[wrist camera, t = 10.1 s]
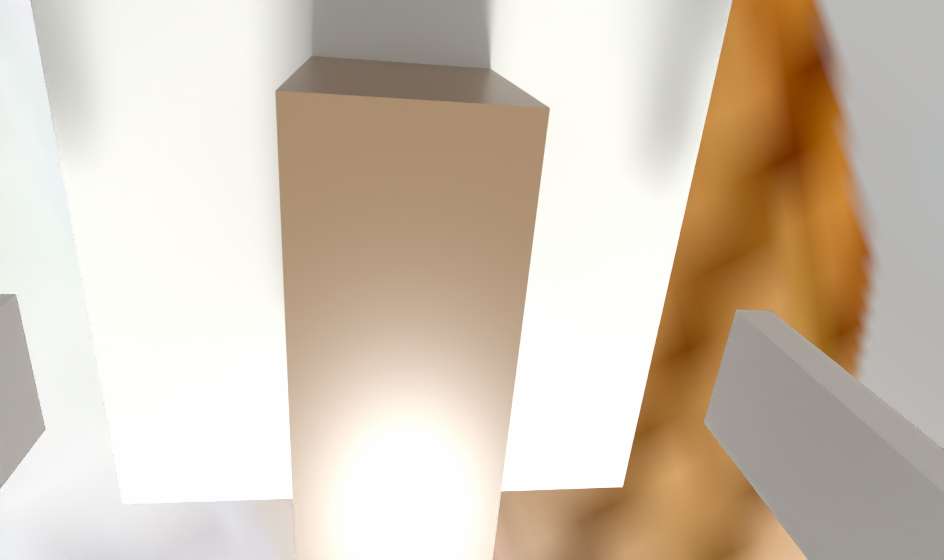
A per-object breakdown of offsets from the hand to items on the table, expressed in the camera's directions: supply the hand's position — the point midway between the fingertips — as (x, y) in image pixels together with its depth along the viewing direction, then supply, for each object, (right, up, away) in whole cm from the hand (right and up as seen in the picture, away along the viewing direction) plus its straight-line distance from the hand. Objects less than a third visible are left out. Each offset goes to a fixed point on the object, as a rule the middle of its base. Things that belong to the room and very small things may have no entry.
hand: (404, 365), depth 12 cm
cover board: (-1, +2, +5) cm, 6 cm away
